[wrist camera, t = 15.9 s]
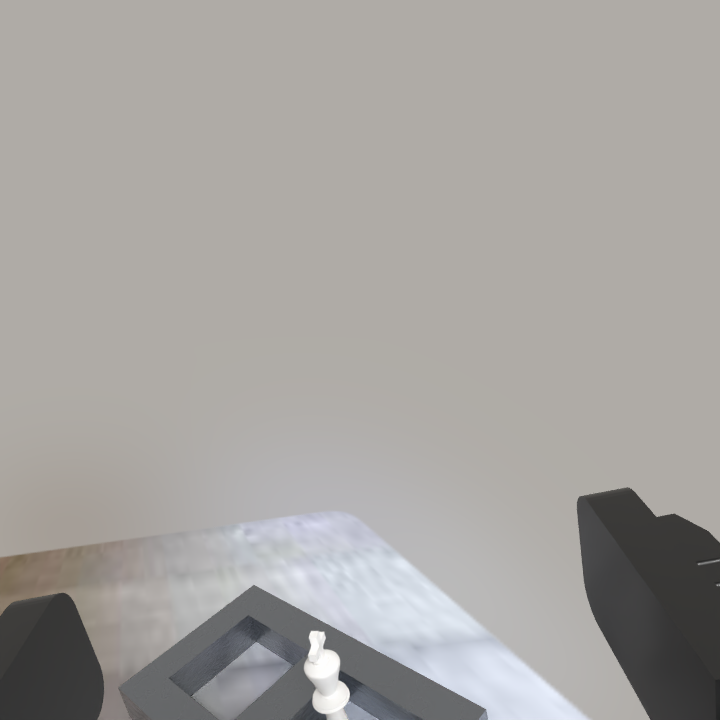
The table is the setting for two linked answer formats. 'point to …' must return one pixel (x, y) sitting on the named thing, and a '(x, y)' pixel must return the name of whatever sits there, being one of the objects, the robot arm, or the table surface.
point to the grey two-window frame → (294, 689)
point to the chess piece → (326, 679)
